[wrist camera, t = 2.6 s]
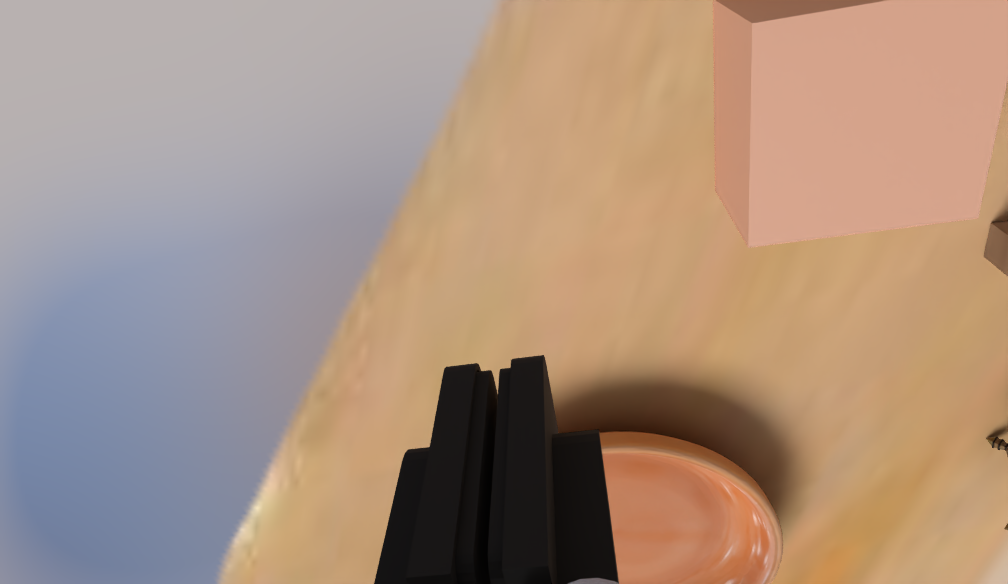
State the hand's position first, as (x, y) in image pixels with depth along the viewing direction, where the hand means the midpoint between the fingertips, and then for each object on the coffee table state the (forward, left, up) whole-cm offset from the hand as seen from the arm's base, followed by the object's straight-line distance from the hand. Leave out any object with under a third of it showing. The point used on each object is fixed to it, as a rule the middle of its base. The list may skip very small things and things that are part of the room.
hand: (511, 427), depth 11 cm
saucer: (-1, +22, -16) cm, 27 cm away
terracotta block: (-10, 0, -16) cm, 19 cm away
